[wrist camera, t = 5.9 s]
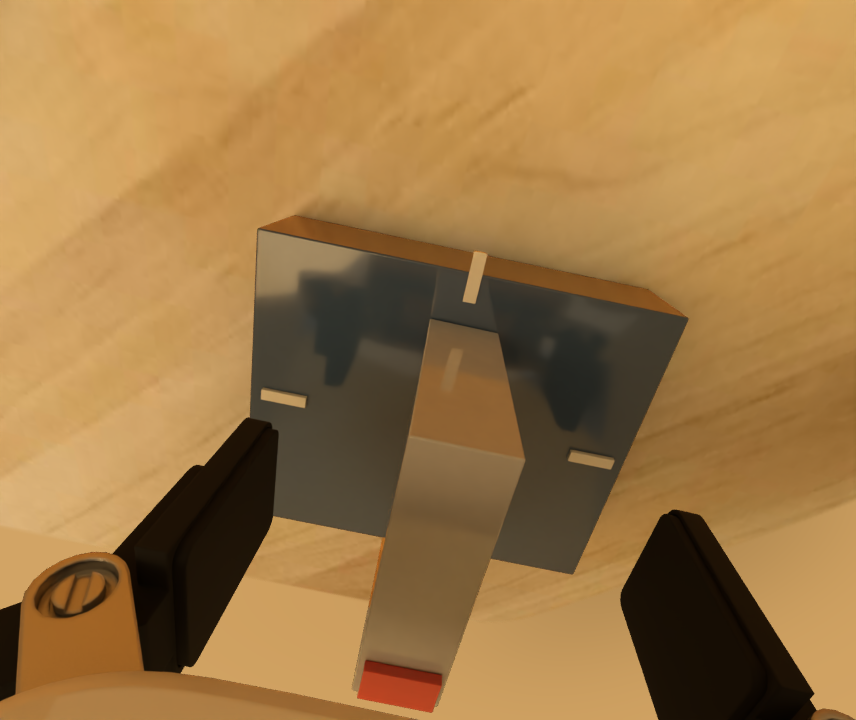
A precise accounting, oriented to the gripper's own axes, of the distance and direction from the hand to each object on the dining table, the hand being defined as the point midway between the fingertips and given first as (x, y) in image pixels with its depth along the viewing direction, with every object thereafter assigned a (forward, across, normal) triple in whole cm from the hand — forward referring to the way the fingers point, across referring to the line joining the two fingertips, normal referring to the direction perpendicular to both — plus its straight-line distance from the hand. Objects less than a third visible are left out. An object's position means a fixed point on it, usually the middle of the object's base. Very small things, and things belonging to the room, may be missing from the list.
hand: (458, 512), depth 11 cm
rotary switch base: (+7, +1, 0) cm, 7 cm away
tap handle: (+4, +1, 0) cm, 4 cm away
